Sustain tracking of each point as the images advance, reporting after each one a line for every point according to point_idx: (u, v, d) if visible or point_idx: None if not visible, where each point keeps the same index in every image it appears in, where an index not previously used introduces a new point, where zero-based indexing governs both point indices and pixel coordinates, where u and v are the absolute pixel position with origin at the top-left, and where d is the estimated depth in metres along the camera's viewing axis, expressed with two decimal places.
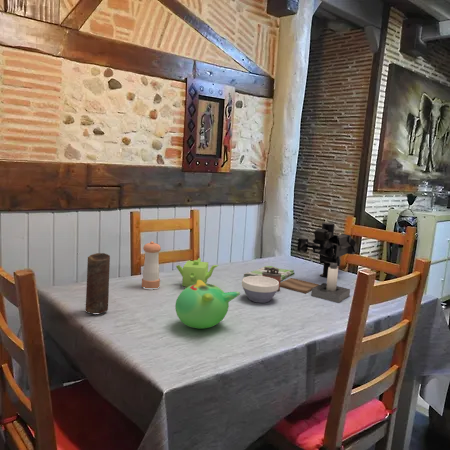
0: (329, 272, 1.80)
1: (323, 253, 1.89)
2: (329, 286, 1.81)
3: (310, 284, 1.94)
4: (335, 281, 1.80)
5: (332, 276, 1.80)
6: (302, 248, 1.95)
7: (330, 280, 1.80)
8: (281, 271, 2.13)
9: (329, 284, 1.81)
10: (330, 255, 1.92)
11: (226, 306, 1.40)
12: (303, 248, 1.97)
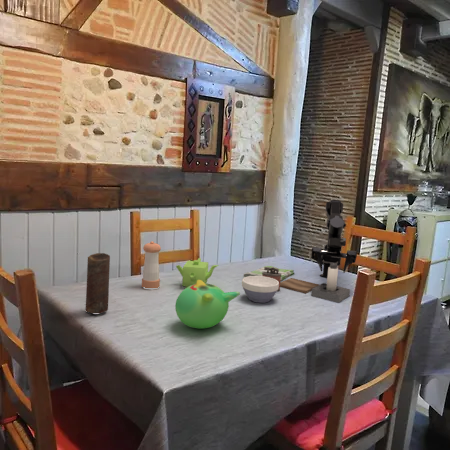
0: (329, 272, 1.80)
1: None
2: (329, 286, 1.81)
3: (310, 284, 1.94)
4: (335, 281, 1.80)
5: (332, 276, 1.80)
6: (321, 265, 1.86)
7: (330, 280, 1.80)
8: (281, 271, 2.13)
9: (329, 284, 1.81)
10: (350, 263, 1.87)
11: (226, 306, 1.40)
12: None
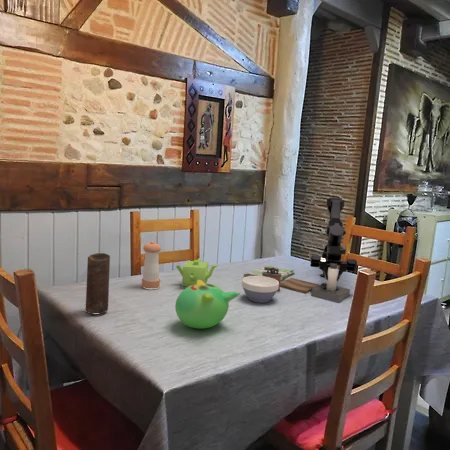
0: (329, 272, 1.80)
1: (339, 277, 1.82)
2: (329, 286, 1.81)
3: (310, 284, 1.94)
4: (335, 281, 1.80)
5: (332, 276, 1.80)
6: None
7: (330, 280, 1.80)
8: (281, 271, 2.13)
9: (329, 284, 1.81)
10: (344, 270, 1.85)
11: (226, 306, 1.40)
12: None
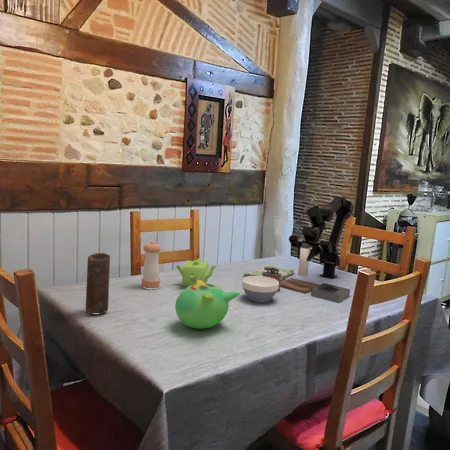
0: (300, 251, 1.87)
1: (311, 257, 1.86)
2: (299, 264, 1.87)
3: (310, 284, 1.94)
4: (305, 261, 1.86)
5: (302, 255, 1.86)
6: None
7: (300, 259, 1.87)
8: (281, 271, 2.13)
9: (299, 263, 1.87)
10: (319, 252, 1.88)
11: (226, 306, 1.40)
12: None
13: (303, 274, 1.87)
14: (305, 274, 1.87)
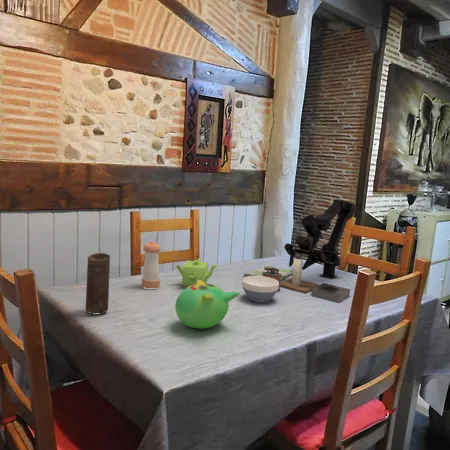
0: (293, 262, 1.90)
1: (307, 266, 1.88)
2: (292, 274, 1.91)
3: (310, 284, 1.94)
4: (298, 271, 1.89)
5: (295, 265, 1.89)
6: (292, 262, 1.93)
7: (293, 269, 1.90)
8: (281, 271, 2.13)
9: None
10: (315, 261, 1.90)
11: (226, 306, 1.40)
12: (293, 258, 1.94)
13: (296, 284, 1.90)
14: (298, 284, 1.90)
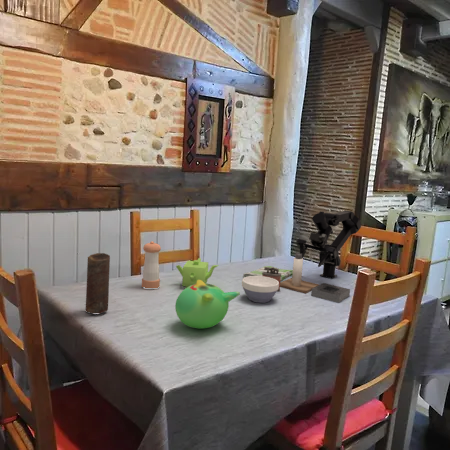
0: (293, 263, 1.90)
1: (322, 263, 1.95)
2: (293, 274, 1.91)
3: (310, 284, 1.94)
4: (298, 271, 1.89)
5: (295, 265, 1.89)
6: (302, 256, 2.00)
7: (293, 269, 1.90)
8: (281, 271, 2.13)
9: None
10: (330, 258, 1.97)
11: (226, 306, 1.40)
12: (303, 253, 2.01)
13: (296, 284, 1.90)
14: (298, 284, 1.90)
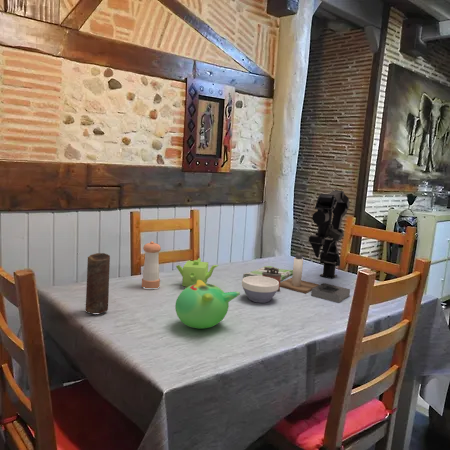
0: (294, 262, 1.90)
1: None
2: (293, 274, 1.91)
3: (310, 284, 1.94)
4: (298, 271, 1.89)
5: (295, 265, 1.89)
6: None
7: (293, 269, 1.90)
8: (281, 271, 2.13)
9: (293, 273, 1.90)
10: None
11: (226, 306, 1.40)
12: None
13: (296, 284, 1.90)
14: (298, 284, 1.90)
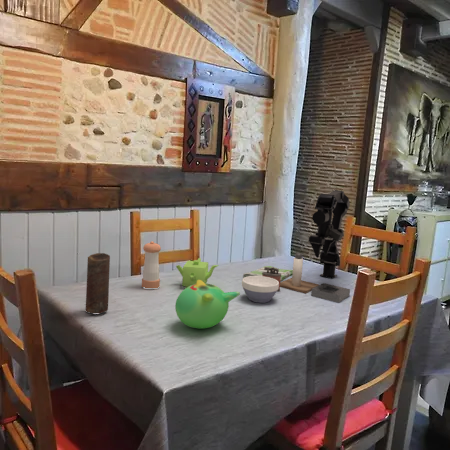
0: (293, 262, 1.90)
1: None
2: (292, 274, 1.91)
3: (310, 284, 1.94)
4: (298, 271, 1.89)
5: (295, 265, 1.89)
6: None
7: (293, 269, 1.90)
8: (281, 271, 2.13)
9: None
10: None
11: (226, 306, 1.40)
12: None
13: (296, 284, 1.90)
14: (298, 284, 1.90)
